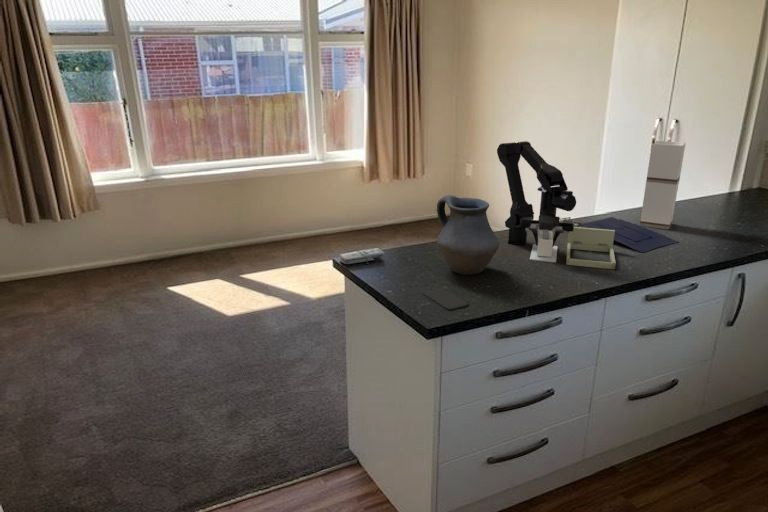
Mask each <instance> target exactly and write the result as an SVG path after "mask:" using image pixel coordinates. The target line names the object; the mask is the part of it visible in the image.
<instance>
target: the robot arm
mask: <svg viewBox="0 0 768 512" xmlns="http://www.w3.org/2000/svg"><path fill="white" fill-rule="evenodd" d="M496 153H497V158H498V160H499V162H500V163H501V164H502V166H503V167H504V168H505V173H506V178H507V183H508V187H509V192H510V198H511V202H512V205H511V207H510V209H509V213H510V214H509V217H508V218H507V219H506V220H505V221H504V224H505V225H504V226H505V228H507V229H508V237H507V238H508V241H507V244H509V245H510V244H511V245H521V246H524V245H525V244H526V243H527V242H528V232H529V231H531V232H532V235H533V237H534V241H535V244H536V246H538V235H539V231H543V230H549V231H553V230H554V228H555V230H554V233H553V246H555V244H556V242H557V239H558V237H559V236H560V235H561V234H563V233H565V232H569V231H570V232H572V231H573V230H574V221H573V220H574V219H572V220H569V219H568V220H567V219H566V220H564V219H562V221H563V222H561V221H560V222H559V219H561V217H560V216H557V209H560V210H562V211H566V212H571V211H573V210H574V209H575V207H576V205H577V198H576V196H574V195H573V191H572V190H568V185H567V183H566V181H565V178H564V176H563V175H564V174H563V172H562V171H561V170H560V169H559V168H557V167H556V166H554V165H551V164H549V163H548V162H547V161H546V160H545V159H544V158H543V157H542V156H541V154H540V153H538V152H537V150H536V149H535V148H534V147H533V146H532V144H531V142H530V141H527V140H526V141H518V142H504V143H502V142H501V143H500V144H499V145H498V147H497V149H496ZM521 158H523V160H524V161H525V162H527V164H528V165H529V166H530V167H531V168H532V169H533V171H534V172H535V173H536V179H537V180H538V183H539V184H540V186H539V187H538V188H537V191H539V192H540V193H541V195H540V196H541V197H540V204H539V215H538V219H534V215H535V212H534V209H533V208H534V207H533V205H532V203H528V201H527V200H526V195H525V192H524V187H523V182H522V176H521V172H520V167H519V162H520V161H521V160H520V159H521ZM527 229H528V230H529V231H528V230H527ZM553 246H552V247H553Z"/></svg>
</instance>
